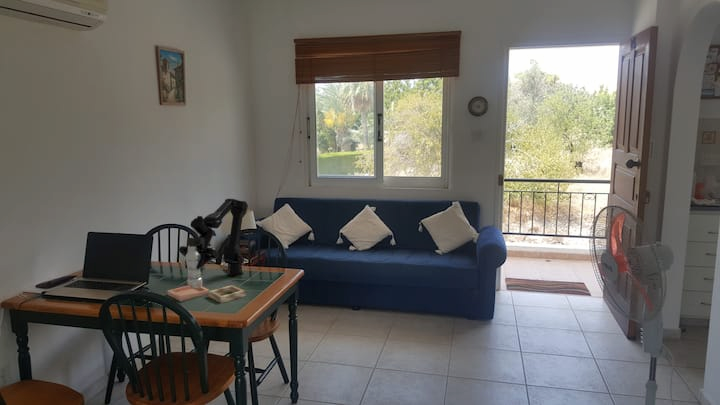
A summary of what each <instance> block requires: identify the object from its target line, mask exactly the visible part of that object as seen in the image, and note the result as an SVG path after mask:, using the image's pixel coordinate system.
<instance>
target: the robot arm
mask: <svg viewBox="0 0 720 405" xmlns="http://www.w3.org/2000/svg"><path fill="white" fill-rule="evenodd" d="M248 207H249V205H248V203H247V201H245V200H239V199H235V198H225V199H224V202H223V203H222V204H221V205H220V206H219V207H218V208H217V209H216V210H215V211H214V212H212V213H210V214H207V215H206V216H205V217H203V216H201V215H197V217H195V218H193V220H192V221H191V222H190V227H191V228H192V229H193V230H194V231H195V233H196V234H198V235H199V236H198V237H188V238H187V242H186V243H187V244H186V245H187V246H185V245H182V246H179V248H178V252H179V253H180V254H181V255H182V256H183V257H184V258H185V257H186V254H187V253H188V251H189V250H188V246H189V245H196V246H197V250H196V251H197V252H198V253H199V254H200V261H199V263H198V266H197V269H198V270H199V269H200V270H201V268H203V266H205V265H206V264H207V263H208V262H210V261H212V260H218V258H219V256H220V253H219V252H218V250H217V249H216V248H214V247H211V246H212V244H211V241H212V239H213V237H217V233H216V231H215V229H219V228H220V227H221V225H222V223H223V218H225V217H226V215H227V214H228V213H229V212H230V214H231V216H232V220H231V221H232V222H231V226H230V233H229V240H228V241H229V242H228V244H227V246H224V247H223V252H222V253H223V254H222V255H223V256H222V257H223V260H224V263H225V264H227V267H226V268H227V273H226V274H227V275H228V276H231V277H236V276H240V275H244V274H245V273H244V272H243V267H242V266H243V265H242V264H244V262H245V257H244V256H243V254H241V252H242V250H241V248H240V245H239V243H240V238H241V230H242V224H243V218H244V217H245V215H246V214H247V211H248ZM184 266H185V269H187V263H186V261H185V264H184ZM187 270H188V269H187Z"/></svg>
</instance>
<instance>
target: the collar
mask: <svg viewBox="0 0 720 405" xmlns="http://www.w3.org/2000/svg"><path fill="white" fill-rule="evenodd" d="M208 293H209V294H208V298H211V299H213V300H215V301H216V302H219V303H221V304H222V303H225V302H230V301H234V300H236V299H239V298H243V297H246V290H244V289H242V288H239V287H237V286H235V285H233V284H231V285H228V286H224V287H220V288H216V289H212V290H210V291H208Z"/></svg>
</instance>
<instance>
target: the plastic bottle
mask: <svg viewBox="0 0 720 405" xmlns="http://www.w3.org/2000/svg"><path fill="white" fill-rule="evenodd" d="M187 246H188V250H189V251H188V253H187V254H186V257H185V256H184V259H185V262H186V263H187V281H186V282H187V283H186V284H187V286H188V287H189V288H192V289H194V288H199V287H201V286H202V287H203V284H204V283H203V282H204V281H203V277H202V273H201V268H200V269H199V270H198V269H197V266H198V263H199V261H200V259H201V254H199V253H198V252H197V251H196V250H197V246H196V245H187Z"/></svg>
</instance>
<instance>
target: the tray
mask: <svg viewBox="0 0 720 405" xmlns="http://www.w3.org/2000/svg"><path fill="white" fill-rule="evenodd" d="M208 291H211V290H210V289H208V288H206V287H204V286H203V285H202V286H201V287H199V288H194V289H192V288H189V287H188V285H184V286H180V287H177V288H172V289H167V295H168V296H169V297H171V298H173V299H175V300H176V301H179V303H180V302H181V303H182V302H184V301H189V300H192V299H196V298H201V297H204V296H207V295H208V296H209V293H208Z"/></svg>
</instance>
